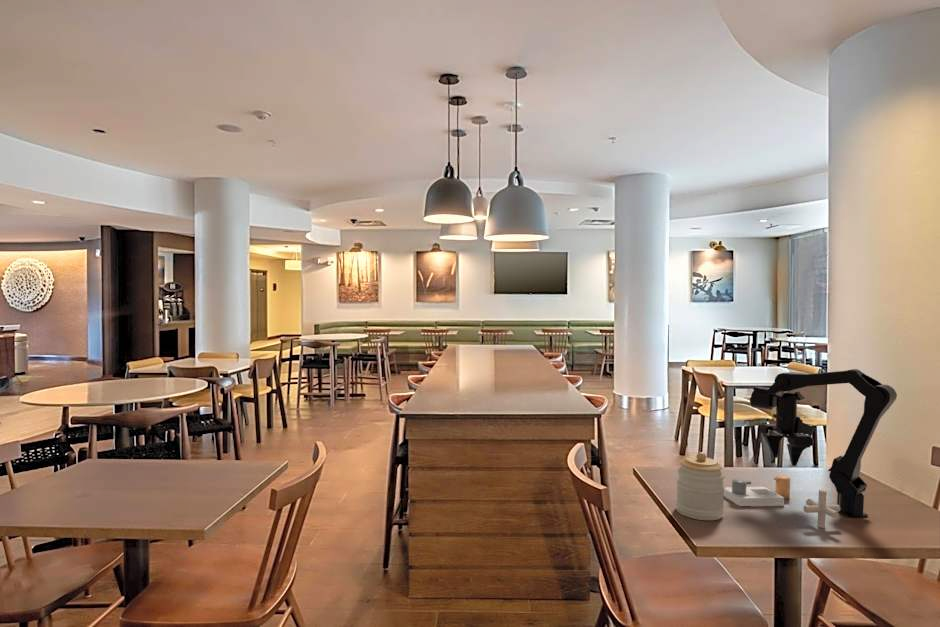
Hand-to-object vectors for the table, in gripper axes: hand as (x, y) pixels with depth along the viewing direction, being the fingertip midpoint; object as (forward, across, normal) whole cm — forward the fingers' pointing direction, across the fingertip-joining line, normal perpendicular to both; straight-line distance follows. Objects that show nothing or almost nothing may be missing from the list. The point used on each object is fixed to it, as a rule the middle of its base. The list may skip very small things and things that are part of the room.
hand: (784, 461), depth 189 cm
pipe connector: (+11, -24, +5) cm, 27 cm away
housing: (+11, -4, +13) cm, 17 cm away
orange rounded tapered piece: (+11, 0, +1) cm, 11 cm away
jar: (+11, -13, +34) cm, 38 cm away
